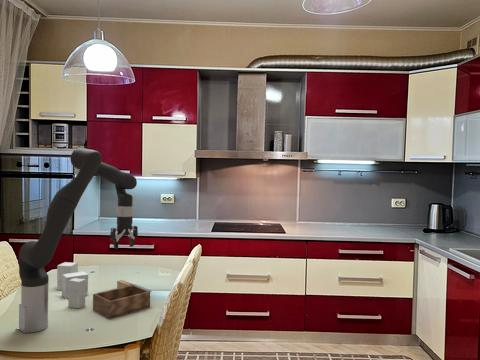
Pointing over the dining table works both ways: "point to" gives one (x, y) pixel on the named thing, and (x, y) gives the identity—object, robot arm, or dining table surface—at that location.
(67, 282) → the skincare box
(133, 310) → the box
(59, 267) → the supplement box
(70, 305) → the skincare box
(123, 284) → the lid
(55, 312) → the dining table surface
